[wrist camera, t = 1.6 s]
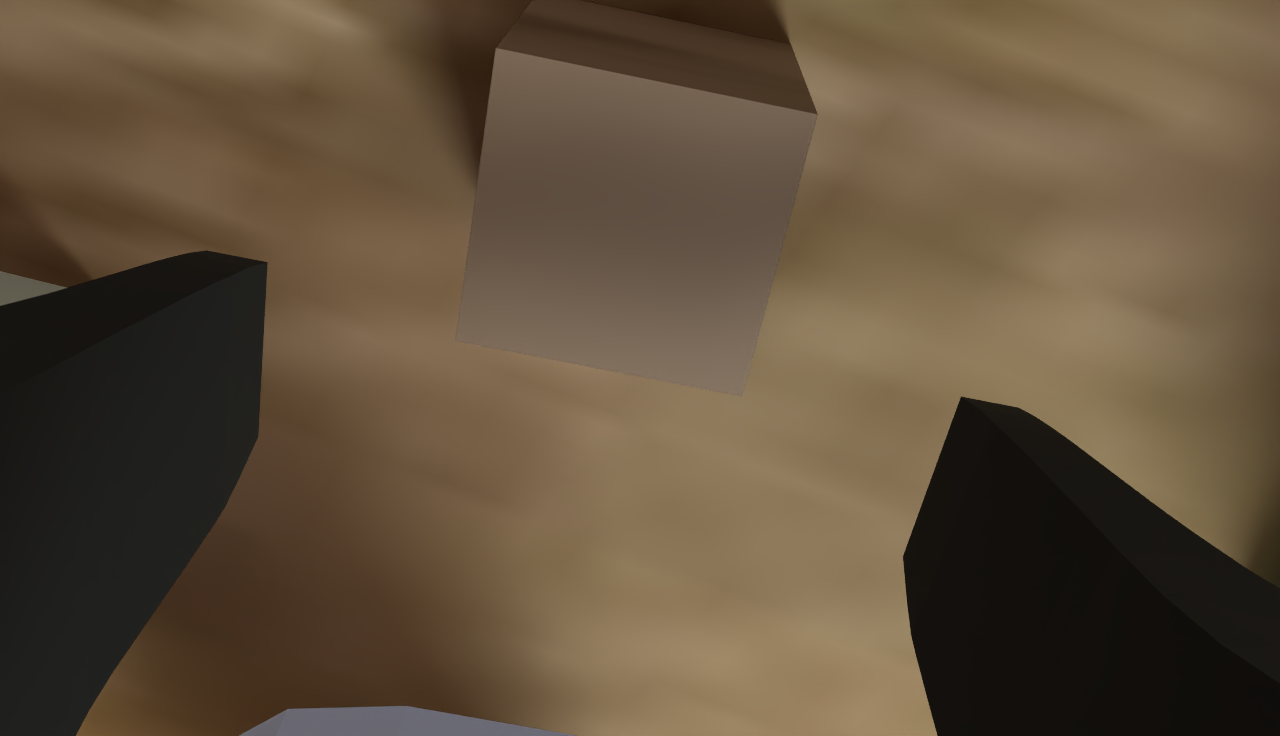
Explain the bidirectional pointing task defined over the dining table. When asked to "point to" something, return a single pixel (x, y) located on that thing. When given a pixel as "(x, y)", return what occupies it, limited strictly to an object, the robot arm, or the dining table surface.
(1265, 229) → the dining table surface
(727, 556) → the dining table surface
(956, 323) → the dining table surface
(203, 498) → the robot arm
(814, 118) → the walnut block
